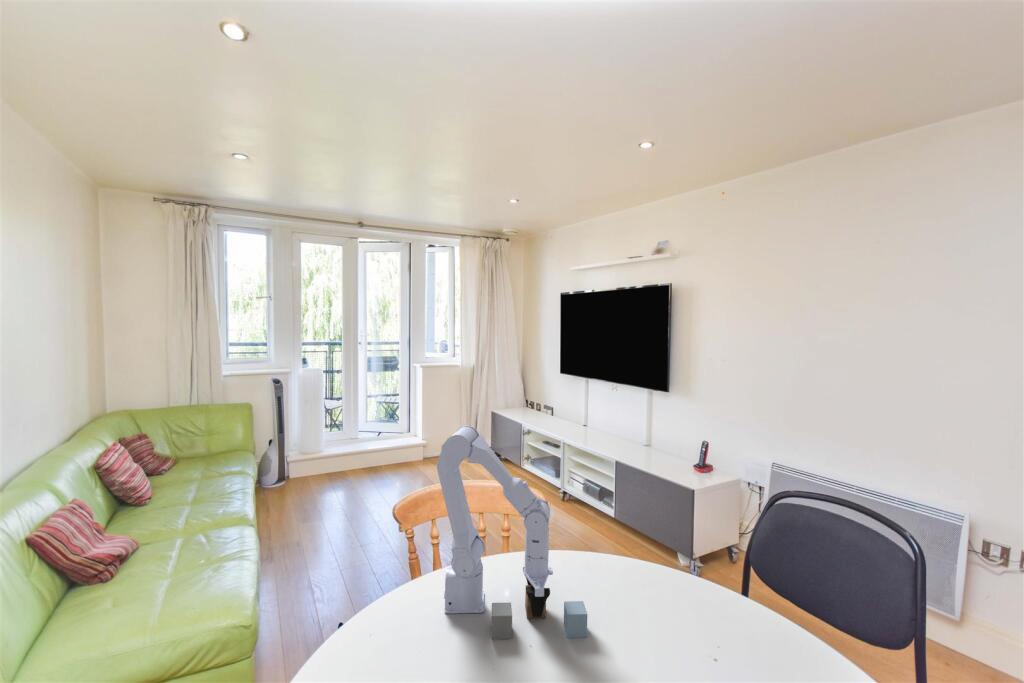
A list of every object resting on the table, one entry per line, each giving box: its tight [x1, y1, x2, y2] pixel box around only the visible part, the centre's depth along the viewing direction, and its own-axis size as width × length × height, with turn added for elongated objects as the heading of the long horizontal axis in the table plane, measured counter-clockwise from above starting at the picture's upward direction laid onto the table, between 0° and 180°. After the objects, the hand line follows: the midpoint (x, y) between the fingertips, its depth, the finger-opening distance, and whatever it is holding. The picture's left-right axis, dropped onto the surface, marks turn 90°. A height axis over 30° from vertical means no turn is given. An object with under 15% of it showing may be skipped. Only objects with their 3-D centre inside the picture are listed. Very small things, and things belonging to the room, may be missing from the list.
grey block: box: [490, 602, 513, 640], centre depth 103 cm, size 4×4×6 cm
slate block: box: [563, 600, 588, 639], centre depth 104 cm, size 4×4×6 cm
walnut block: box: [524, 584, 547, 620], centre depth 110 cm, size 4×4×6 cm
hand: (535, 606), depth 110 cm, fingers open, 6 cm apart
